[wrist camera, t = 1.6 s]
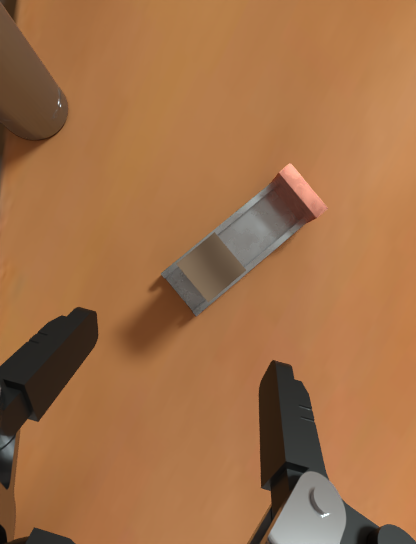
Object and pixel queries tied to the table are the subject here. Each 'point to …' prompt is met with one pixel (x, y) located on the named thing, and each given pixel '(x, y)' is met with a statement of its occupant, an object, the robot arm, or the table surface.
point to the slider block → (211, 267)
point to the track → (256, 230)
